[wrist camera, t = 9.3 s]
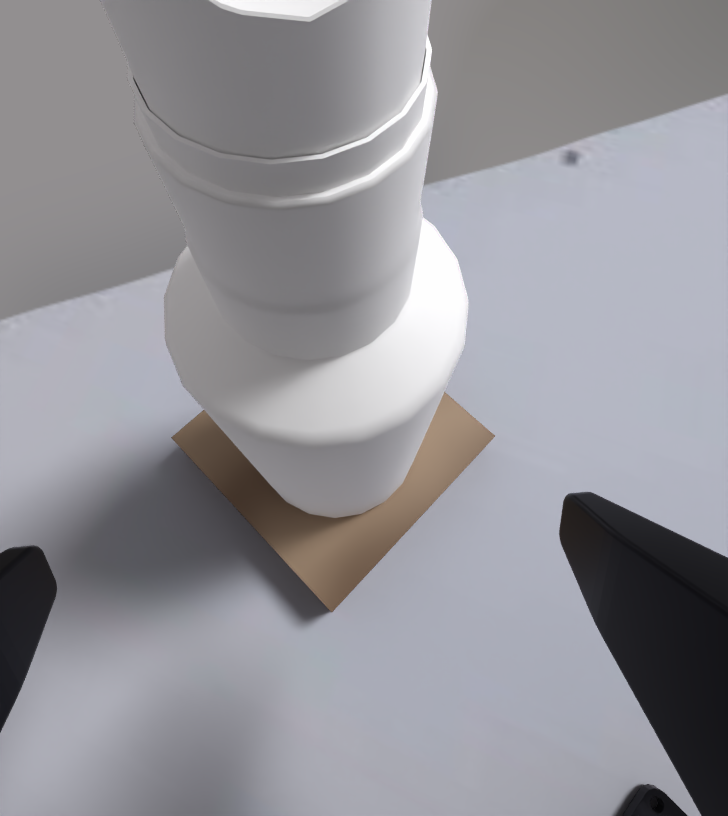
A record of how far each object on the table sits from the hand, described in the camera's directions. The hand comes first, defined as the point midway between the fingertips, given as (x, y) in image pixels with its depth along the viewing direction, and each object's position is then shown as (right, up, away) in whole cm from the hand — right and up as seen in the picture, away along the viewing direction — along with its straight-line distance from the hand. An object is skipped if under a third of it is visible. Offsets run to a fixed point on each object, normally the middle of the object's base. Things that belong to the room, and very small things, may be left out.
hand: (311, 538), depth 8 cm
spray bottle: (0, +1, +13) cm, 13 cm away
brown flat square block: (0, 0, +15) cm, 15 cm away
